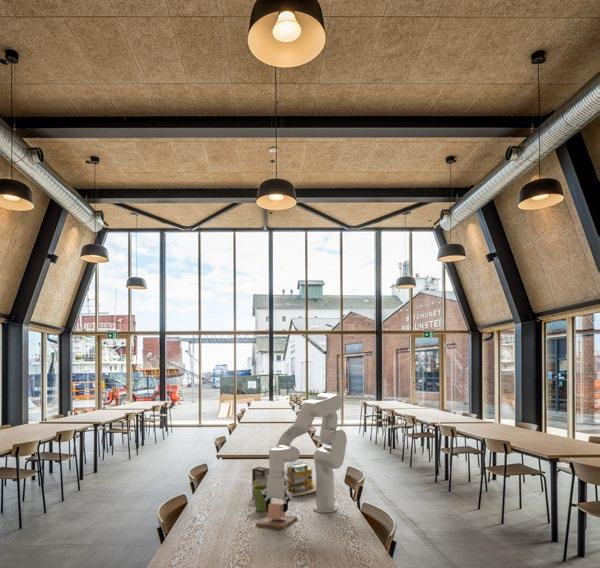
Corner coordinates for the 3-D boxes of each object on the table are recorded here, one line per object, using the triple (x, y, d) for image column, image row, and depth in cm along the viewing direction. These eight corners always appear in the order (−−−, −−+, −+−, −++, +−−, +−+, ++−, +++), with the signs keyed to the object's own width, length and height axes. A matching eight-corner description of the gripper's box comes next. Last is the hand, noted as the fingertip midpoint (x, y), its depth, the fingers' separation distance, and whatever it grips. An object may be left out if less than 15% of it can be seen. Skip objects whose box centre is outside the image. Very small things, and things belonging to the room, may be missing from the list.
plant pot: (277, 511, 261) (277, 489, 263) (255, 514, 257) (255, 491, 258) (270, 505, 272) (270, 483, 274) (249, 507, 268) (249, 485, 269)
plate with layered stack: (277, 497, 286) (277, 467, 288) (283, 485, 311) (283, 457, 313) (320, 498, 284) (319, 467, 286) (322, 486, 308) (322, 458, 310)
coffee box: (251, 497, 286) (251, 468, 288) (258, 495, 291) (258, 466, 293) (264, 500, 281) (264, 470, 283) (271, 497, 286) (270, 468, 288)
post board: (272, 516, 254) (272, 499, 255) (297, 520, 248) (297, 503, 249) (256, 526, 240) (256, 508, 241) (281, 530, 234) (281, 512, 235)
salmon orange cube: (274, 513, 248) (274, 501, 249) (285, 515, 245) (285, 502, 246) (268, 517, 243) (268, 504, 244) (279, 519, 240) (279, 506, 241)
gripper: (295, 473, 246) (296, 510, 244) (265, 470, 254) (265, 505, 252) (288, 477, 240) (288, 514, 237) (257, 473, 247) (257, 510, 245)
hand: (276, 510), depth 244 cm, fingers open, 9 cm apart
